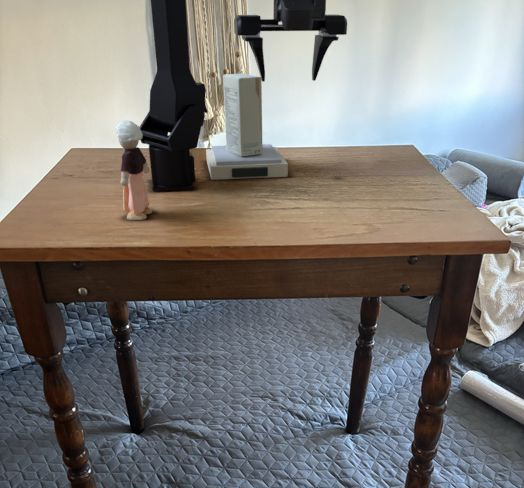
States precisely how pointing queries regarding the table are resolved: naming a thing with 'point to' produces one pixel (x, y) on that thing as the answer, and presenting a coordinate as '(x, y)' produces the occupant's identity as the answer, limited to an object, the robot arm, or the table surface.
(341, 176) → the table surface
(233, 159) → the scale
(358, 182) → the table surface
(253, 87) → the cosmetic box
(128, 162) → the grandmother figurine
